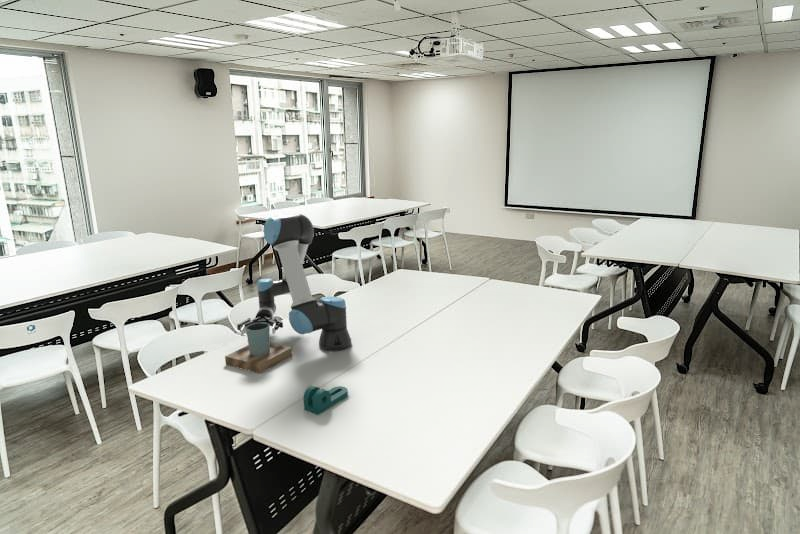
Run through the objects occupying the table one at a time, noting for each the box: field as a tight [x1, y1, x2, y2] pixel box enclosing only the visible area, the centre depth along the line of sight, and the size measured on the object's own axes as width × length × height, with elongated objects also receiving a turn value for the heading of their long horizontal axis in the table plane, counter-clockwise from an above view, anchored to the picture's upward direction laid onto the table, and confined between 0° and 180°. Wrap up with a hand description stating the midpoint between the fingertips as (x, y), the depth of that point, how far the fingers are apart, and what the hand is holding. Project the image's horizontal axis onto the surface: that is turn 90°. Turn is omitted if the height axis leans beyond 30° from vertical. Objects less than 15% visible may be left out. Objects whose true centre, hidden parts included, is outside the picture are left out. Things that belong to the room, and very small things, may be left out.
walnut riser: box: [224, 342, 293, 374], centre depth 221 cm, size 20×20×4 cm
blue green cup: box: [245, 322, 271, 356], centre depth 219 cm, size 10×10×12 cm
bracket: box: [302, 385, 349, 416], centre depth 183 cm, size 18×7×8 cm, turn 145°
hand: (257, 332), depth 222 cm, fingers open, 13 cm apart
